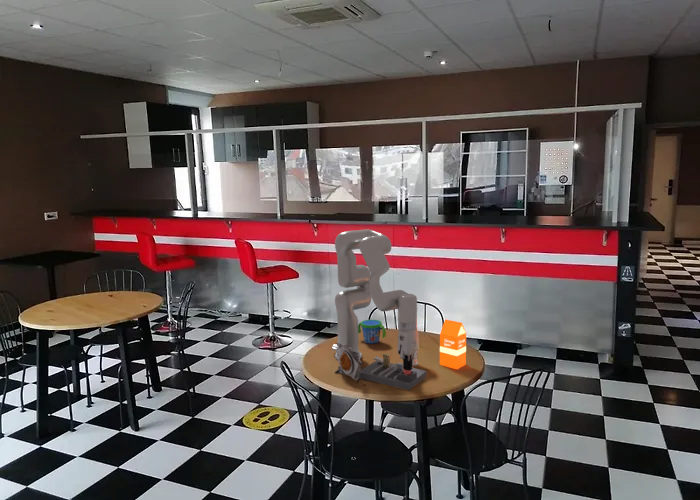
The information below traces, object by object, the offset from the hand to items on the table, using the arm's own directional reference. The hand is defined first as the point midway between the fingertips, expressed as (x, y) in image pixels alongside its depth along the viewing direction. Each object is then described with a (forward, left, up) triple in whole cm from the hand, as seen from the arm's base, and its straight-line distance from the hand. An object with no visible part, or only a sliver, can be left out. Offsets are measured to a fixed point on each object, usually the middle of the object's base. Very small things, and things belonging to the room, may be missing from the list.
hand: (407, 369), depth 210 cm
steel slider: (-6, +5, -4) cm, 9 cm away
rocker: (-18, +9, -3) cm, 20 cm away
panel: (-9, +4, -7) cm, 12 cm away
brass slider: (-13, +6, -4) cm, 15 cm away
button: (0, 0, -4) cm, 4 cm away
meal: (-25, -6, -7) cm, 27 cm away
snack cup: (-40, +38, -7) cm, 56 cm away
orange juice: (+7, +30, -7) cm, 32 cm away
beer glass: (-9, +21, -7) cm, 24 cm away
